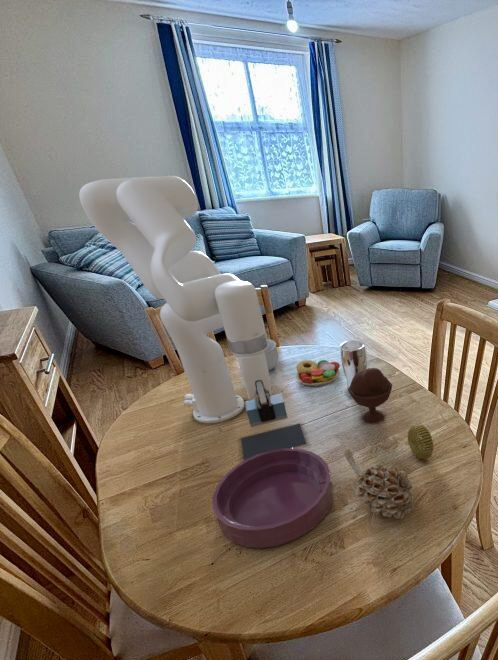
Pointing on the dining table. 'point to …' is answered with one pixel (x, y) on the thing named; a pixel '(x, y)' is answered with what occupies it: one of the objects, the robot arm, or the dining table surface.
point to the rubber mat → (272, 440)
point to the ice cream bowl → (370, 392)
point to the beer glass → (353, 359)
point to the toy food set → (317, 372)
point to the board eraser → (254, 414)
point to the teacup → (271, 355)
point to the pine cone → (383, 489)
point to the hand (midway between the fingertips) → (267, 413)
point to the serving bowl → (273, 497)
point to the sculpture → (420, 441)
